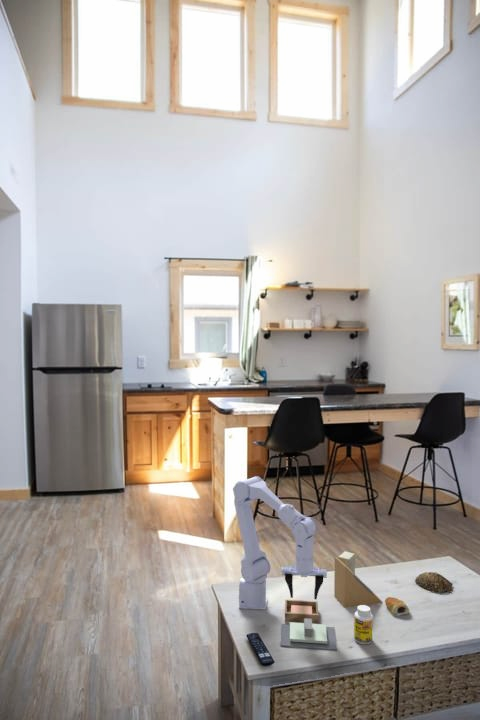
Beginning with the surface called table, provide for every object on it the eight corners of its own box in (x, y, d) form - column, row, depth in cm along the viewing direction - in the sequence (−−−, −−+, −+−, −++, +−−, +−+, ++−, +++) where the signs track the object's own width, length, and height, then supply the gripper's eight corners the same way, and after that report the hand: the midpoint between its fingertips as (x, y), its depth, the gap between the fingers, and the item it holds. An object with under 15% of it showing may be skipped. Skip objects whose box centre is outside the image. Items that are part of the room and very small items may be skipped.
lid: (289, 642, 163) (289, 630, 163) (290, 626, 172) (290, 614, 172) (327, 645, 162) (327, 633, 162) (325, 628, 171) (325, 616, 171)
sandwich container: (384, 603, 189) (385, 561, 188) (344, 608, 185) (345, 566, 184) (372, 591, 197) (373, 552, 196) (334, 596, 193) (334, 556, 192)
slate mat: (280, 646, 162) (280, 645, 162) (281, 624, 174) (281, 623, 174) (336, 650, 160) (336, 649, 160) (334, 628, 172) (334, 627, 172)
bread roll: (410, 582, 205) (410, 569, 205) (434, 576, 211) (435, 563, 210) (435, 597, 194) (435, 583, 194) (460, 590, 199) (460, 577, 199)
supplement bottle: (352, 642, 164) (353, 610, 164) (355, 633, 169) (356, 602, 169) (371, 646, 162) (371, 614, 162) (373, 637, 167) (374, 605, 167)
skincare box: (344, 581, 205) (345, 550, 204) (355, 584, 202) (355, 553, 201) (337, 588, 199) (337, 556, 199) (348, 591, 197) (348, 559, 196)
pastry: (380, 603, 189) (380, 592, 189) (397, 601, 190) (397, 591, 190) (393, 617, 180) (393, 606, 179) (411, 615, 181) (411, 604, 181)
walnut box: (284, 621, 176) (284, 613, 176) (285, 607, 185) (285, 599, 184) (318, 624, 175) (318, 615, 174) (317, 609, 183) (317, 601, 183)
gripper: (281, 560, 170) (280, 601, 170) (327, 563, 168) (326, 604, 169) (282, 551, 177) (281, 591, 177) (326, 553, 175) (325, 594, 176)
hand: (303, 597), depth 174 cm, fingers open, 7 cm apart
